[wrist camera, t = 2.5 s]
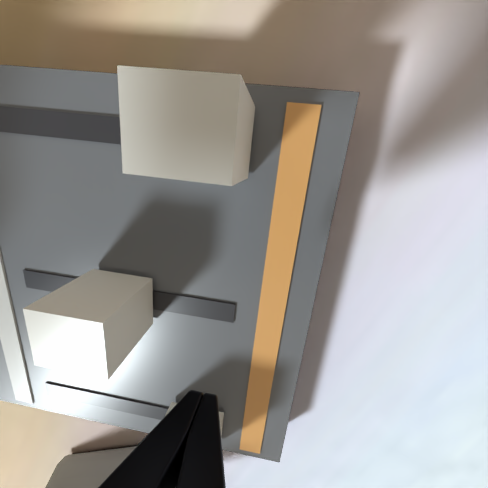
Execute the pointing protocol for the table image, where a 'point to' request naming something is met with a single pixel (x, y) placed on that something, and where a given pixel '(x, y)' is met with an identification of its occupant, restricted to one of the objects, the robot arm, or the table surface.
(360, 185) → the table surface
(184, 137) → the handle
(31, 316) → the handle middle
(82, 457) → the electrical switch
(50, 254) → the breaker panel
